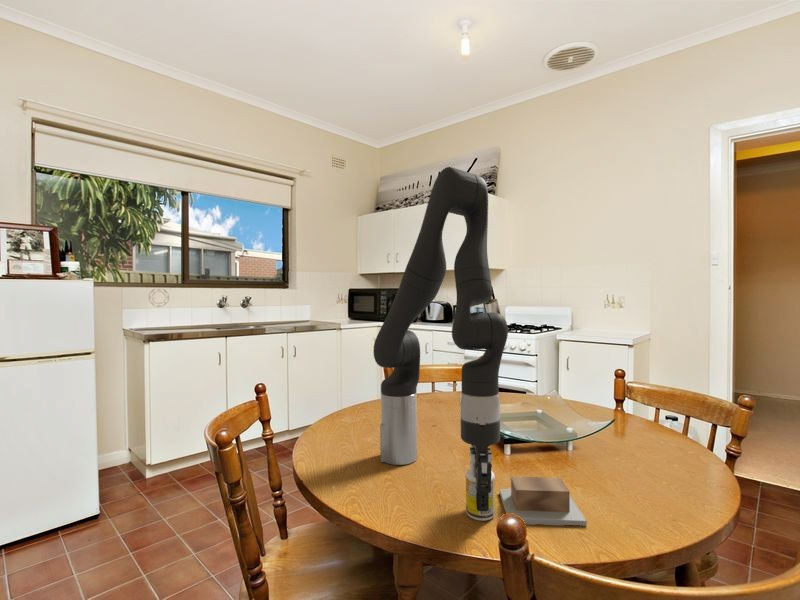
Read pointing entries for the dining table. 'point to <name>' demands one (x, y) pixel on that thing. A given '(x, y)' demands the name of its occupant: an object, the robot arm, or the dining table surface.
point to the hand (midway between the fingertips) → (480, 501)
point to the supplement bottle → (471, 497)
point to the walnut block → (540, 494)
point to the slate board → (544, 513)
